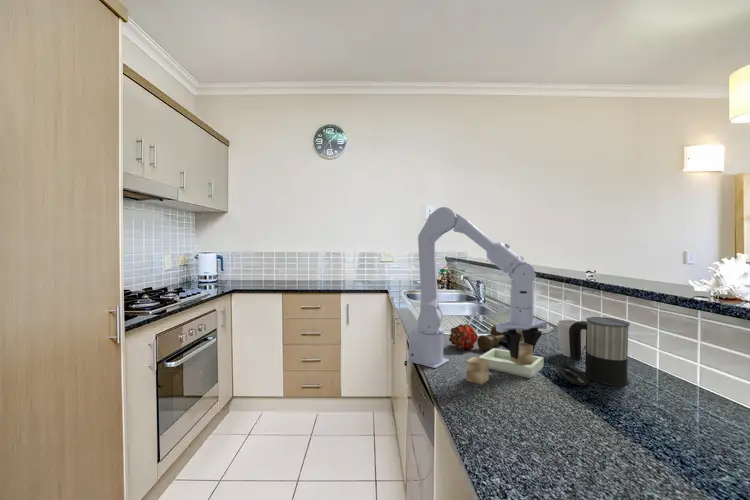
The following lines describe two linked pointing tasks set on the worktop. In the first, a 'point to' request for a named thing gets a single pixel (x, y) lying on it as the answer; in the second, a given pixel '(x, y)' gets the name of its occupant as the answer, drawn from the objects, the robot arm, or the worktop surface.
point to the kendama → (493, 339)
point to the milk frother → (599, 352)
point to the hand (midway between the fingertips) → (521, 356)
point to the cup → (564, 336)
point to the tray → (511, 363)
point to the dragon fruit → (463, 336)
